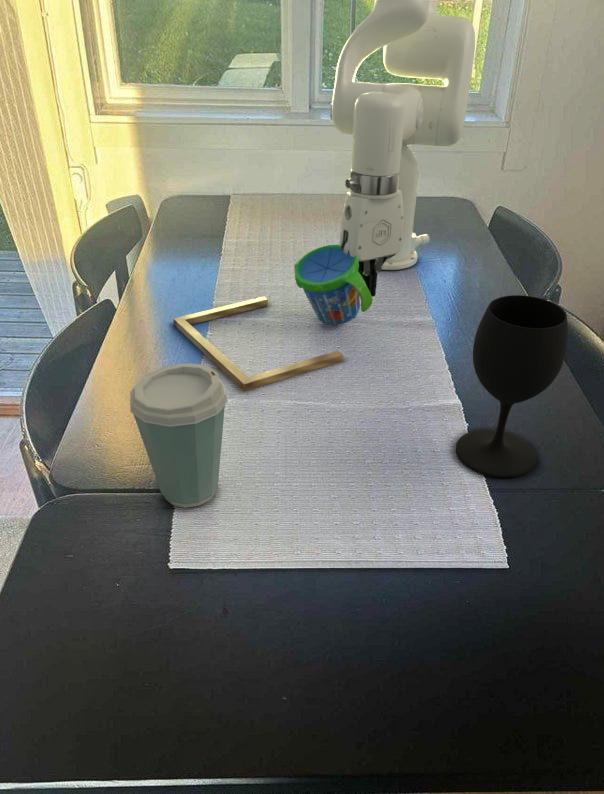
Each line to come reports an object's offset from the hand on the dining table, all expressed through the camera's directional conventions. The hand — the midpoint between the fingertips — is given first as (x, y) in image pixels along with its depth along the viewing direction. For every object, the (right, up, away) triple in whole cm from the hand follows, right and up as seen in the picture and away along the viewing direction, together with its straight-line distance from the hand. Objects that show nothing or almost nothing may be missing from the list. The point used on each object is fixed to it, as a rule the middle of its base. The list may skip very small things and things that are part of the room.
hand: (366, 294), depth 121 cm
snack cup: (-5, -3, 0) cm, 6 cm away
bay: (-18, -9, -6) cm, 21 cm away
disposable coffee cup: (-24, -33, -36) cm, 55 cm away
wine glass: (+14, -29, -29) cm, 44 cm away
